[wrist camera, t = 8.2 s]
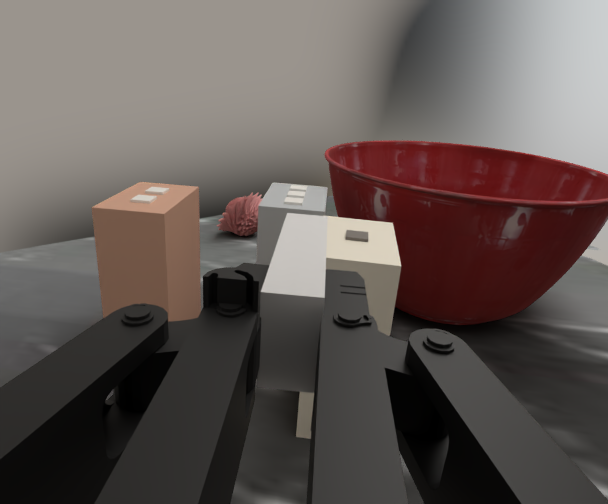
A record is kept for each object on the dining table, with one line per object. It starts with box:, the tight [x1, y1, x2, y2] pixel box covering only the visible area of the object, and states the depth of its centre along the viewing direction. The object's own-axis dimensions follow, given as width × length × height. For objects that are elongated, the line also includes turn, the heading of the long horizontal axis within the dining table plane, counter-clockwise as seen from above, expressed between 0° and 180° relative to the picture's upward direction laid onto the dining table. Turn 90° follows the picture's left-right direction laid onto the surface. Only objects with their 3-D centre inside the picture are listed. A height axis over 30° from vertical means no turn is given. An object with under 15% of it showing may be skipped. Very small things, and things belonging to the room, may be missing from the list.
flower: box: [217, 193, 262, 236], centre depth 65 cm, size 8×8×6 cm
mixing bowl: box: [325, 141, 608, 325], centre depth 48 cm, size 28×28×16 cm
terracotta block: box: [92, 182, 201, 322], centre depth 36 cm, size 8×5×13 cm, turn 176°
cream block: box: [296, 216, 401, 439], centre depth 31 cm, size 8×5×13 cm, turn 173°
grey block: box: [256, 183, 327, 265], centre depth 40 cm, size 8×5×13 cm, turn 176°
